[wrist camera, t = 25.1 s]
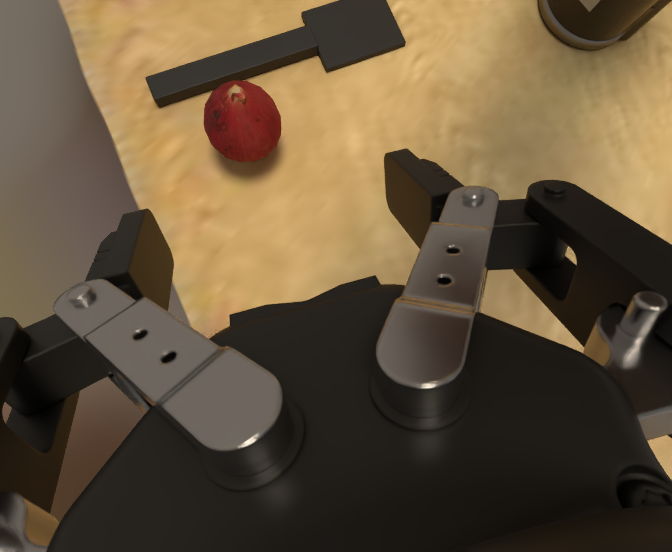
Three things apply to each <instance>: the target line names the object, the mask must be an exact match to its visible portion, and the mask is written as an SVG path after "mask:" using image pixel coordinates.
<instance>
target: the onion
mask: <svg viewBox="0 0 672 552" xmlns="http://www.w3.org/2000/svg"><path fill="white" fill-rule="evenodd" d="M204 128H205V131H206V133H207V136H208V138H209V140H210V142H211V144H212V145H213V147H214V148H215V149H217V150H218V151H219V152H220V153H221V154H222V155H224V156H225V157H226V158H229V159H232V160H236V161H239V162H251V161H256V160H259V159H261V158H263V157H266V156H267V155H268V154H269V153H270V152H271V151H272V150H273V149H274V148H275V147H276V145H277V142H278V140H279V138H280V135H281V117H280V114H279V111H278V109H277V107H276V105H275V103H274V101H273V99H272V98H271V97H270V96H269V95H268V94H267V93H266V92H265V91H264V90H263V89H262V88H261V87H259V86H257V85H254V84H252V83H250V82H247V81H236V80H233V81H230V82H227V83H224V84H221V85H220V86H219V87H218V88H217V89H215V90H214V91H213V92H212V93H211V95H210V97H209V99H208V101H207V102H206V104H205V108H204Z"/></svg>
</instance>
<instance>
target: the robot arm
mask: <svg viewBox="0 0 672 552" xmlns="http://www.w3.org/2000/svg"><path fill="white" fill-rule="evenodd" d="M671 1H672V0H539V6H540V11H541V14H542V17H543V19H544V21H545V23H546V24H547V26H548V27H549V29H550V30H551V31H552V32H553V33H554V34H555V35H556V36H557V37H558V38H559V39H561V40H562V41H564V42H566V43H567V44H569V45H571V46H574V47H577V48H581V49H588V50H594V49H601V48H604V47H607V46H609V45H611V44H613V43H614V42H615V41H617V40H628V39H629V38H630V37H631V36H632V35H633V34H634V33H635V32H637V31H638V30H639V29H640V28H641V27H642V26H643V25H645V24H646V23H647V22H648V21H649V20H650V19H651V18H652V17H654V16H655V15H656V14H657V13H658V12H659V11H660V10H662V9H663V8H664V7H665V6H666V5H667V4H668V3H669V2H671ZM384 169H385V187H386V199H387V204H388V207H389V209H390V211H391V213H392V214H393V215H394V216H395V218H396V219H397V220H398V222H399V223H400V224H401V225H402V227H403V228H404V229H405V231H406V232H407V233H408V234H409V236H410V237H411V238H412V240H413V241H414V242H415V243H416V245H417V246H418V247H419V249H420V251H419V254H418V256H417V259H416V261H415V264H414V266H413V269H412V271H411V274H410V276H409V279H408V281H407V284H406V286H404V285H395V284H384V285H381V284H380V283H379V281H378V279H377V277H376V276H371V277H367V278H364V279H360V280H356V281H353V282H349V283H345V284H342V285H339V286H337V287H335V288H333V289H331V290H329V291H326V292H324V293H322V294H320V295H318V296H316V297H314V298H312V299H310V300H307V301H302V302H292V303H281V304H270V305H264V306H260V307H257V308H253V309H249V310H246V311H242V312H238V313H235V314H231V315H230V326H229V327H227V328H225V329H223V330H222V331H220V332H218V333H217V334H215V335H214V336H212V337H211V338H209V339H208V338H206V337H205V336H203V335H202V334H200V333H199V332H197V331H196V330H194V329H193V328H191V327H190V326H188V325H187V324H185V323H184V322H182V321H181V320H179V319H178V318H176V317H175V316H173V315H172V314H171V313H169V312H168V307H169V298H170V291H171V284H172V276H173V268H174V261H173V257H172V253H171V250H170V248H169V246H168V244H167V242H166V240H165V238H164V236H163V234H162V232H161V230H160V228H159V226H158V224H157V222H156V220H155V218H154V216H153V214H152V212H151V211H150V210H149V209H143V210H139V211H135V212H131V213H126V214H123V216H122V218H121V221H120V224H119V226H118V229H117V231H115V232H111V233H110V235H108V236H107V237H106V238H105V239H104V240H103V241H102V242H101V244H100V246H99V249H98V251H97V254H96V256H95V259H94V262H93V263H92V266H91V268H90V271H89V273H88V275H87V278H86V280H85V282H82V283H79V284H77V285H75V286H73V287H71V288H70V289H68V290H67V291H65V292H64V293H63V294H62V295H60V296H59V297H58V299H57V300H56V301H55V303H54V305H53V311H54V312H55V314H54V315H52V316H50V317H48V318H46V319H44V320H41V321H39V322H37V323H34V324H32V325H30V326H28V327H25V328H22V327H21V325H20V324H19V323H18V322H17V321H16V320H15V319H13V318H10V317H3V318H0V552H672V480H671V479H670V478H669V476H668V475H667V474H666V472H665V471H664V469H663V468H662V466H661V465H660V463H659V462H658V460H657V458H656V457H655V455H654V453H653V451H652V450H651V448H650V446H649V444H648V442H647V440H651V439H654V438H658V437H662V436H665V435H668V436H669V437H671V438H672V245H671V244H669V243H668V242H666V241H665V240H663V239H661V238H660V237H658V236H657V235H655V234H653V233H652V232H650V231H649V230H647V229H645V228H644V227H642V226H641V225H639V224H637V223H636V222H634V221H633V220H631V219H629V218H628V217H626V216H625V215H623V214H621V213H620V212H618V211H617V210H615V209H613V208H612V207H610V206H609V205H607V204H605V203H604V202H602V201H601V200H599V199H597V198H596V197H594V196H593V195H591V194H590V193H588V192H586V191H585V190H583V189H582V188H580V187H578V186H577V185H575V184H572V183H569V182H565V181H560V180H543V181H538V182H535V183H533V184H531V185H530V186H529V187H528V190H527V195H526V199H516V200H499V196H498V194H497V193H496V192H495V191H494V190H492V189H489V188H486V187H482V186H464V185H462V184H461V183H460V182H459V181H458V180H456V179H455V178H454V177H453V176H451V175H449V173H448V172H446V171H445V170H443V168H442V167H440V166H439V165H438V164H437V163H435V162H432V161H429V160H426V159H419V158H418V157H416V156H415V155H414V154H413V153H412V152H411V151H409V150H408V149H402V150H398V151H393V152H389V153H386V154H385V157H384ZM568 246H569V247H570V248H572V250H573V251H574V253H575V255H576V259H577V266H576V265H575V264H574V263H573V262H572V261H570V260H569V259H568V258H567V257H566V256H565V253H566V250H567V247H568ZM503 269H513V270H514V272H515V273H516V274H517V275H518V276H519V277H520V278H521V279H522V281H523V282H524V283H525V284H526V285H527V286H528V287H529V288H530V289H531V290H532V291H533V292H534V294H535V295H536V296H537V297H538V298H539V299H540V300H541V301H542V302H543V303H544V304H545V305H546V307H547V308H548V309H549V310H550V311H551V312H552V313H553V314H554V315H555V316H556V317H557V318H558V320H559V321H560V322H561V323H562V324H563V325H564V326H565V327H566V328H567V329H568V330H569V331H570V333H571V334H572V335H573V336H574V337H575V338H576V339H577V340H578V341H579V342H580V343H581V344H582V346H583V347H584V351H583V353H581V352H579V351H577V350H574V349H572V348H570V347H567V346H564V345H562V344H559V343H557V342H554V341H552V340H549V339H546V338H544V337H541V336H539V335H536V334H534V333H531V332H528V331H526V330H523V329H521V328H518V327H516V326H513V325H511V324H508V323H505V322H503V321H500V320H498V319H495V318H493V317H490V316H487V315H485V314H482V313H480V311H481V306H482V301H483V295H484V290H485V284H486V279H487V273H488V270H503ZM107 376H108V377H109V378H110V379H111V381H112V382H113V383H114V384H115V385H116V386H117V387H118V388H119V389H120V390H121V391H122V392H123V393H124V394H125V395H126V396H127V397H128V398H129V399H130V400H131V401H133V402H134V404H135V405H136V406H137V407H138V408H139V409H140V410H141V411H142V412H143V413H144V414H145V415H144V416H143V417H142V419H141V420H140V421H139V422H138V423H137V425H136V426H135V427H134V428H133V430H132V431H131V432H130V433H129V435H128V436H127V437H126V438H125V440H124V441H123V442H122V443H121V445H120V446H119V447H118V448H117V450H116V451H115V452H114V453H113V455H112V456H111V457H110V458H109V460H108V461H107V462H106V463H105V465H104V466H103V467H102V468H101V469H100V471H99V472H98V473H97V475H96V476H95V477H94V478H93V480H92V481H91V482H90V483H89V484H88V486H87V487H86V488H85V489H84V491H83V492H82V493H81V494H80V496H79V497H78V498H77V499H76V501H75V502H74V503H73V504H72V506H71V507H70V509H69V510H68V511H67V513H66V514H65V515H64V517H63V519H62V520H61V522H60V523H58V521H57V519H56V518H55V517H53V516H52V515H51V514H50V511H51V507H52V503H53V499H54V495H55V491H56V487H57V483H58V479H59V475H60V471H61V467H62V463H63V459H64V454H65V450H66V446H67V442H68V438H69V434H70V430H71V426H72V422H73V418H74V414H75V410H76V405H77V402H78V398H79V391H80V390H82V389H84V388H86V387H87V386H89V385H91V384H93V383H95V382H97V381H99V380H101V379H103V378H105V377H107ZM4 402H6V403H7V404H8V405H10V406H11V407H12V410H11V413H10V415H9V418H8V420H7V423H6V424H5V422H4V420H3V416H2V408H3V404H4Z"/></svg>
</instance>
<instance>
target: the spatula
mask: <svg viewBox="0 0 672 552" xmlns="http://www.w3.org/2000/svg"><path fill="white" fill-rule="evenodd" d="M302 19H303V21H304V23H305V25H306V26H303V27H300V28H297V29H294V30H291V31H288V32H285V33H281V34H278V35H275V36H272V37H269V38H266V39H263V40H260V41H257V42H253V43H250V44H247V45H244V46H241V47H238V48H235V49H232V50H229V51H226V52H222V53H219V54H216V55H213V56H210V57H207V58H204V59H201V60H198V61H194V62H191V63H188V64H185V65H182V66H179V67H176V68H173V69H170V70H166V71H163V72H160V73H157V74H154V75H151V76H148V77H146V81H147V83H148V86H149V88H150V91H151V93H152V96H153V98H154V100H155V102H156V103H157V105H158V106H159V107H162V106H165V105H168V104H171V103H174V102H177V101H180V100H183V99H186V98H189V97H192V96H195V95H198V94H201V93H204V92H207V91H210V90H213V89H216V88H218V87H219V86H220V85H221V84H224V83H227V82H230V81H233V80H236V81H240V80H243V79H246V78H249V77H252V76H255V75H258V74H261V73H264V72H267V71H270V70H273V69H276V68H279V67H282V66H285V65H288V64H291V63H294V62H297V61H300V60H303V59H306V58H309V57H312V56H315V55H317V54H319V56H320V59H321V61H322V63H323V65H324V68H325V70H326V72H329V71H332V70H335V69H338V68H341V67H344V66H347V65H350V64H353V63H356V62H359V61H361V60H364V59H367V58H370V57H373V56H376V55H379V54H382V53H385V52H388V51H391V50H394V49H397V48H400V47H403V46H405V43H406V42H405V39H404V37H403V35H402V33H401V31H400V29H399V27H398V25H397V22H396V20H395V18H394V16H393V14H392V12H391V10H390V8H389V6H388V3H387V1H386V0H339V1H336V2H332V3H329V4H326V5H323V6H320V7H317V8H313V9H310V10H307V11H304V12H302Z"/></svg>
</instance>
